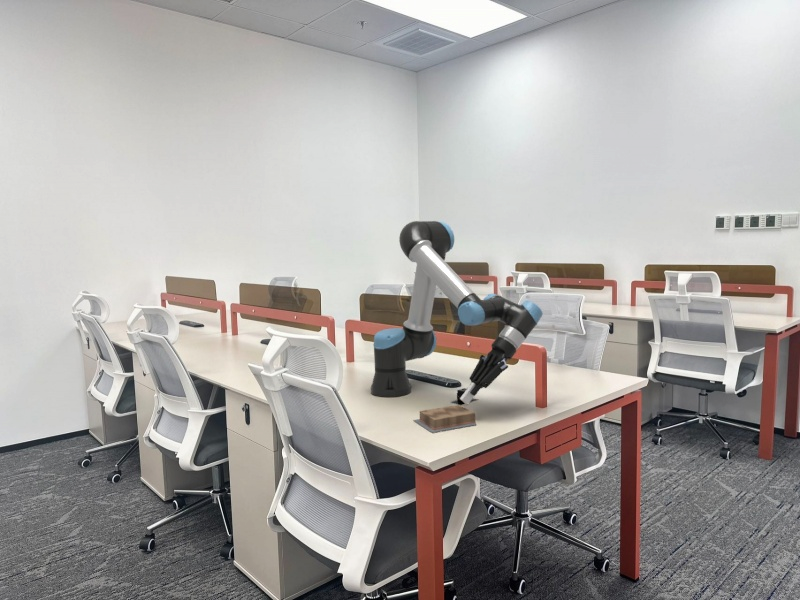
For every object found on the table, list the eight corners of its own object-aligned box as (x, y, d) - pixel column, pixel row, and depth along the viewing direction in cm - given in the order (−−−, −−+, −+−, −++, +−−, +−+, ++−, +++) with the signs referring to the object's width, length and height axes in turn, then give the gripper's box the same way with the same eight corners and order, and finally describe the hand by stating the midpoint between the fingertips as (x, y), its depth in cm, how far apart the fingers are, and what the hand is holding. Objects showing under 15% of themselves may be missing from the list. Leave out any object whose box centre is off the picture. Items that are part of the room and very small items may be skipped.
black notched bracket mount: (468, 397, 202) (468, 384, 201) (484, 400, 196) (483, 388, 196) (444, 404, 194) (444, 391, 193) (460, 408, 188) (459, 395, 188)
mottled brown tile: (458, 413, 179) (419, 420, 173) (458, 404, 179) (419, 411, 173) (475, 422, 170) (434, 429, 164) (475, 413, 170) (434, 420, 164)
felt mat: (413, 421, 174) (413, 420, 174) (455, 413, 180) (455, 412, 180) (432, 433, 162) (432, 432, 162) (476, 425, 168) (476, 424, 168)
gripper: (526, 353, 173) (482, 414, 168) (502, 347, 185) (460, 403, 180) (512, 338, 171) (466, 399, 166) (489, 333, 183) (445, 390, 177)
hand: (463, 401), depth 173 cm, fingers closed
